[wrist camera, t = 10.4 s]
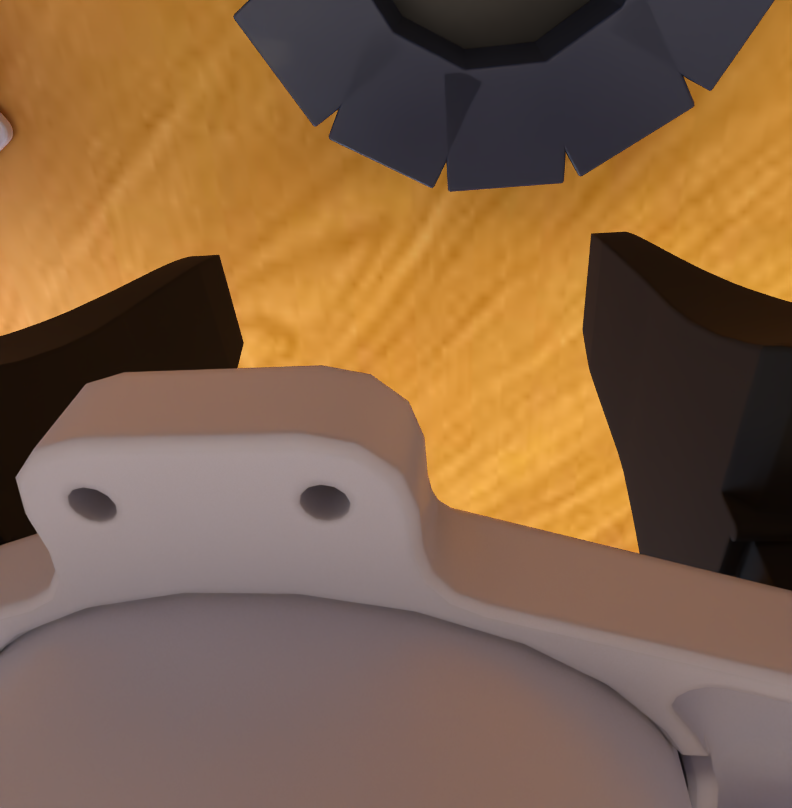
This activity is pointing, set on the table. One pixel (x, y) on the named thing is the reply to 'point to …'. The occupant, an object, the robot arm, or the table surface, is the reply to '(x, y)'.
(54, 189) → the table surface
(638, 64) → the hoop
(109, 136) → the table surface
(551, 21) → the peg stand
